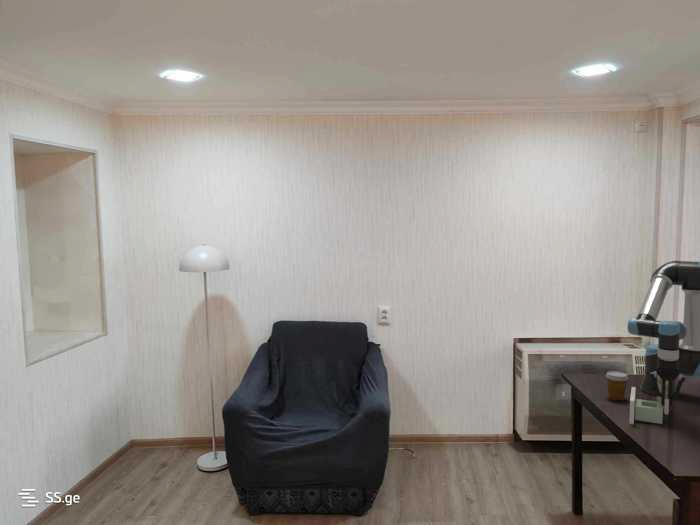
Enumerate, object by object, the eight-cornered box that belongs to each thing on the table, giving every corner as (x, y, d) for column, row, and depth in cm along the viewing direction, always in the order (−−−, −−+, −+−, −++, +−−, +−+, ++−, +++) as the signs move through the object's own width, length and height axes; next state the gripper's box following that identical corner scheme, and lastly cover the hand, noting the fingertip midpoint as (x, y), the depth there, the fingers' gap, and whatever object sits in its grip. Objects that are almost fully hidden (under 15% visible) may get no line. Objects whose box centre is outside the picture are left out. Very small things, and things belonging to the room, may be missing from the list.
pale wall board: (635, 408, 235) (635, 387, 235) (633, 424, 218) (634, 401, 217) (631, 408, 236) (631, 386, 235) (629, 423, 219) (630, 400, 218)
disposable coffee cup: (625, 396, 252) (626, 371, 251) (629, 402, 243) (630, 377, 242) (604, 394, 255) (604, 370, 254) (606, 400, 246) (607, 375, 245)
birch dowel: (662, 408, 235) (663, 374, 234) (669, 412, 231) (670, 376, 230) (654, 409, 235) (655, 374, 233) (660, 412, 231) (662, 377, 229)
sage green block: (661, 416, 226) (662, 402, 225) (662, 424, 217) (662, 410, 217) (635, 412, 231) (636, 398, 230) (634, 419, 222) (635, 406, 222)
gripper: (686, 358, 219) (684, 412, 221) (650, 354, 225) (648, 407, 227) (687, 362, 212) (685, 419, 214) (650, 358, 219) (648, 413, 221)
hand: (666, 413), depth 221 cm, fingers closed
